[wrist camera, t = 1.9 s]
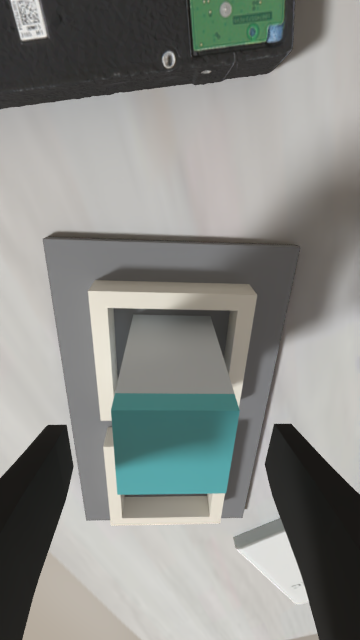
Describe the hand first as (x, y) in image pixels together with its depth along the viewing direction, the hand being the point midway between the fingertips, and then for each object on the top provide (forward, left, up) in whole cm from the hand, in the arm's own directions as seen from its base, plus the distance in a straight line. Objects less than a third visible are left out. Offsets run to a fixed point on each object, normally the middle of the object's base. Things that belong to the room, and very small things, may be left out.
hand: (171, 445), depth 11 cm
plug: (0, 0, -7) cm, 7 cm away
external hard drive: (-24, +9, -8) cm, 26 cm away
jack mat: (-3, +4, -7) cm, 9 cm away
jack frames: (-3, +4, -7) cm, 9 cm away
